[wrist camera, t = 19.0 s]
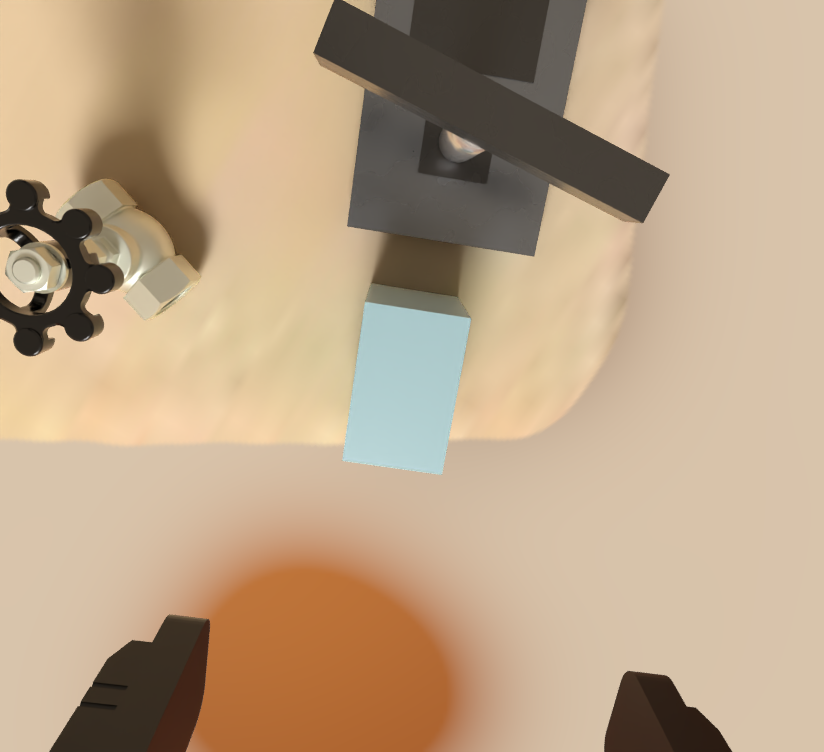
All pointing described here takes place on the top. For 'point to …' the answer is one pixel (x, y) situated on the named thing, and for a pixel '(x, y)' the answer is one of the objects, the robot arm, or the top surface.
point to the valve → (86, 261)
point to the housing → (419, 139)
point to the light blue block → (406, 379)
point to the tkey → (485, 115)
